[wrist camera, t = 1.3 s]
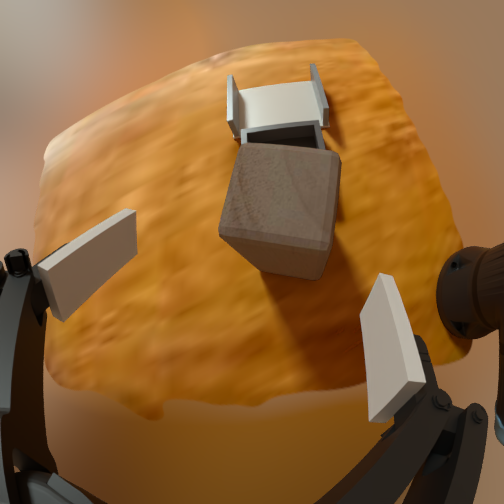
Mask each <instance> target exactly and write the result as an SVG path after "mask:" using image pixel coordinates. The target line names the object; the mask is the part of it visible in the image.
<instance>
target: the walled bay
mask: <svg viewBox="0 0 504 504" xmlns="http://www.w3.org/2000/svg"><path fill="white" fill-rule="evenodd" d="M310 72H311V81H304V82H294V83H284V84H276V85H269V86H262V87H256V88H250V89H244V90H239V91H238V88H237V86H236V83H235V80H234V78H233V75H228V76H227V122H228V124H229V126H230V128H231V131H232V133H233V138H234V139H236V138H241V129H247V128H253V127H260V126H267V125H274V124H282V123H291V122H300V121H311V120H319V123H320V127H321V128H327V127H330V125H329V106H328V103H327V99H326V96H325V93H324V90H323V86H322V83H321V80H320V77H319V74H318V71H317V68H316V65H315V64H310Z"/></svg>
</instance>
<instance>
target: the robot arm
mask: <svg viewBox="0 0 504 504" xmlns="http://www.w3.org/2000/svg"><path fill="white" fill-rule="evenodd" d="M136 255H137V234H136V211H135V210H130V209H126V208H125V209H123V210H122V211H120V212H118V213H116V214H115V215H113V216H111V217H110V218H108V219H106V220H105V221H103V222H101V223H100V224H98V225H96V226H95V227H93V228H92V229H90V230H88V231H87V232H85V233H84V234H82V235H80V236H79V237H77V238H76V239H74V240H73V241H71V242H69V243H67V244H64V245H63V246H61V247H60V248H58V249H57V250H55V251H54V252H52V254H50V255H48V256H47V257H45V258H44V259H42V260H41V261H40V262H38V263H37V264H36V265H34V266H33V267H32V266H31V262H30V258H29V254H28V251H27V250H26V249H15V250H13V251H10V252H9V253H8V254H6V256H5V257H4V260H5V264H6V267H7V270H8V271H5V270H4V267H3V263H2V262H1V261H0V504H107V503H106V502H104V501H102V500H101V499H99V498H97V497H96V496H94V495H92V494H91V493H89V492H88V491H86V490H84V489H83V488H81V487H79V486H77V485H75V484H73V483H71V482H69V481H67V480H66V479H64V478H62V477H60V476H59V475H58V470H57V467H56V463H55V460H54V458H53V456H52V455H51V453H50V451H49V448H48V444H47V437H46V428H45V417H44V399H43V362H44V361H43V360H44V343H45V331H46V322H47V313H46V309H47V308H48V307H49V306H50V309H51V312H52V314H53V316H54V317H55V318H57V319H59V320H60V321H62V322H65V321H66V320H67V319H68V318H69V317H70V316H71V315H72V314H73V313H74V312H75V311H76V310H77V309H78V308H79V307H80V306H81V305H82V304H83V303H84V302H85V301H86V300H87V299H88V298H89V297H90V296H91V295H92V294H93V293H94V292H95V291H97V290H98V289H99V288H100V287H101V286H102V285H103V284H104V283H105V282H106V281H107V280H108V279H110V278H111V277H112V276H113V275H114V274H115V273H116V272H117V271H118V270H120V269H121V268H122V267H123V266H124V265H125V264H126V263H128V262H129V261H130V260H131V259H132V258H133V257H134V256H136ZM436 299H437V307H438V311H439V315H440V317H441V320H442V322H443V323H444V325H445V326H446V328H447V329H448V330H449V331H450V332H451V333H452V334H454V335H455V336H457V337H460V338H464V339H478V338H481V337H484V336H486V335H487V334H489V333H491V332H493V331H495V330H496V329H499V382H498V395H497V400H496V403H495V425H494V429H495V434H496V437H497V439H498V440H499V441H500V443H501V444H502V445H503V446H504V243H502V244H500V245H497V246H495V247H493V248H491V249H490V248H484V247H477V246H471V247H466V248H464V249H461V250H459V251H457V252H456V253H454V254H453V255H452V256H450V257H449V259H448V260H447V261H446V262H445V264H444V266H443V268H442V270H441V272H440V275H439V278H438V282H437V290H436ZM360 321H361V328H362V336H363V345H364V354H365V365H366V376H367V390H368V409H369V422H380V423H386V422H387V421H388V420H389V419H390V418H391V417H393V416H394V423H395V424H394V425H392V426H391V427H390V428H389V429H388V430H387V431H385V432H384V433H383V434H382V435H381V437H382V438H381V439H380V440H379V441H378V443H377V444H376V445H375V446H374V447H373V448H372V449H371V450H370V452H369V453H368V454H367V455H366V456H365V457H364V458H363V459H362V460H361V461H360V462H359V463H358V464H357V465H356V466H355V467H354V468H353V469H352V470H351V471H350V472H349V473H348V474H347V475H346V476H345V477H344V478H343V479H342V480H341V481H340V482H339V483H338V484H336V485H335V486H334V487H333V488H332V489H331V490H330V491H329V492H327V493H326V494H325V495H324V496H323V497H322V498H321V499H319V500H318V501H317V502H315V503H314V504H394V503H395V502H396V500H397V499H398V498H399V497H400V495H401V494H402V493H403V491H404V490H405V489H406V487H407V486H408V485H409V483H410V482H411V480H412V479H413V478H414V479H413V481H412V483H411V486H410V488H409V490H408V493H407V495H406V497H405V499H404V501H403V503H402V504H473V501H474V497H475V494H476V490H477V486H478V482H479V478H480V473H481V468H482V463H483V458H484V452H485V445H486V437H487V428H488V416H487V413H486V411H485V409H484V408H483V407H482V406H481V405H480V404H477V403H472V404H470V405H469V406H468V407H467V408H466V409H465V410H464V409H461V408H459V407H456V406H453V405H452V401H451V398H450V397H449V395H448V394H447V393H446V392H445V391H443V390H442V389H439V388H438V385H437V381H436V377H435V374H434V370H433V366H432V363H431V360H430V356H429V355H428V354H429V353H428V350H427V347H426V344H425V343H424V341H423V340H422V338H421V337H420V336H419V335H414V334H413V333H412V329H411V326H410V323H409V320H408V317H407V314H406V311H405V308H404V305H403V303H402V300H401V297H400V294H399V292H398V289H397V286H396V284H395V281H394V278H393V276H390V275H386V274H383V273H379V275H378V277H377V280H376V282H375V284H374V286H373V288H372V290H371V292H370V295H369V297H368V299H367V301H366V303H365V305H364V307H363V309H362V311H361V313H360ZM14 466H16V467H17V468H18V469H19V470H20V471H21V472H16V473H15V472H14Z"/></svg>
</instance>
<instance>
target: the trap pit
mask: <svg viewBox="0 0 504 504" xmlns="http://www.w3.org/2000/svg"><path fill="white" fill-rule="evenodd" d="M244 143H263V144H276V145H288V146H298V147H307V148H315V149H323V150H326V149H325V145H324V140H323V136H322V131H321V127H320V123H319V120H311V121H300V122H291V123H282V124H274V125H267V126H260V127H253V128H247V129H241V145H242V144H244Z"/></svg>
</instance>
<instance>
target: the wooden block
mask: <svg viewBox="0 0 504 504" xmlns="http://www.w3.org/2000/svg"><path fill="white" fill-rule="evenodd" d="M341 164H342V162H341V160H340V157H339V155H338V153H336V152H334V151H330V150H323V149H315V148H307V147H298V146H288V145H276V144H263V143H244V144H242V145H241V146H240V148H239V151H238V154H237V158H236V161H235V165H234V169H233V172H232V176H231V180H230V184H229V188H228V191H227V195H226V199H225V203H224V207H223V211H222V215H221V219H220V223H219V227H218V230H219V236H220V237H221V238H222V239H223V240H224V241H225V242H227V243H228V244H229V245H230V246H231V247H232V248H234V249H235V250H236V251H237V252H238V253H240V254H241V255H242V256H243V257H244V258H245V259H247V260H248V261H249V262H250V263H251V264H252V265H254V266H255V267H256V268H257V269H259V270H260V271H263V272H269V273H274V274H280V275H286V276H291V277H297V278H303V279H308V280H319V279H320V277H321V276H322V274H323V271H324V268H325V265H326V263H327V260H328V257H329V254H330V251H331V248H332V244H333V237H334V230H335V222H336V214H337V205H338V196H339V186H340V176H341Z"/></svg>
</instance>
